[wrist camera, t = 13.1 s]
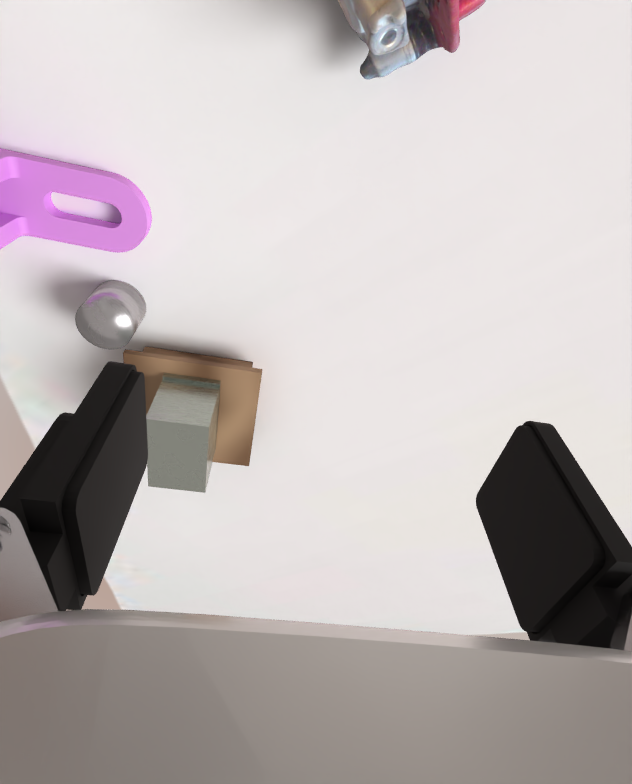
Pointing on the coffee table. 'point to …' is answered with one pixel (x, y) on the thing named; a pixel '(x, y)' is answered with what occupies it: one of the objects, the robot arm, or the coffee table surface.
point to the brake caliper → (404, 29)
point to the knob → (111, 314)
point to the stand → (234, 393)
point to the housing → (182, 432)
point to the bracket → (43, 176)
